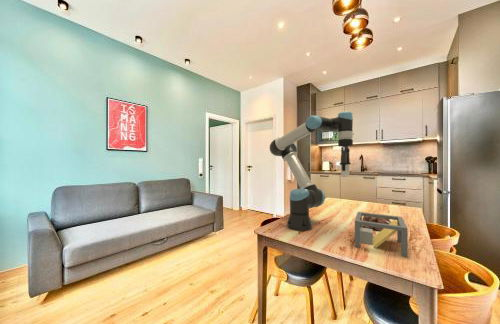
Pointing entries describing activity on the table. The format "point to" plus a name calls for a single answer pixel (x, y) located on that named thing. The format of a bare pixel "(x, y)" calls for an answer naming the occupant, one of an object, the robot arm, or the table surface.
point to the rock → (376, 220)
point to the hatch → (384, 235)
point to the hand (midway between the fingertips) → (345, 176)
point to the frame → (401, 233)
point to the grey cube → (366, 236)
